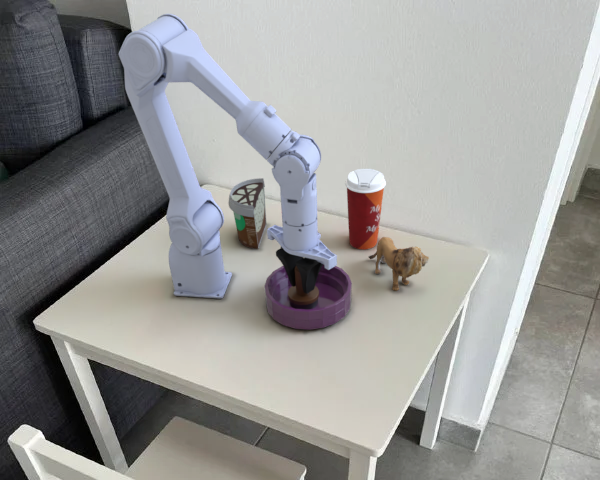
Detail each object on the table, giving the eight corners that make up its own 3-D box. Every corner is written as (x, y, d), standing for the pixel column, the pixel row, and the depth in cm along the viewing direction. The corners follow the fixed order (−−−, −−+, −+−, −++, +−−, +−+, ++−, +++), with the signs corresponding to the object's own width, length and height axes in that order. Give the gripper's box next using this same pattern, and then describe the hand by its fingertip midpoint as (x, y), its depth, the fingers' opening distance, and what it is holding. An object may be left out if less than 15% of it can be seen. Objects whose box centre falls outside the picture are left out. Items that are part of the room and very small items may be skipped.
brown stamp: (285, 310, 111) (283, 276, 106) (291, 291, 115) (288, 258, 110) (317, 312, 110) (315, 278, 105) (321, 293, 114) (320, 259, 109)
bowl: (259, 328, 109) (257, 308, 105) (275, 278, 119) (273, 258, 116) (346, 335, 106) (346, 314, 103) (354, 283, 117) (355, 262, 114)
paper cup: (380, 253, 123) (384, 187, 113) (342, 251, 125) (342, 185, 115) (383, 232, 129) (388, 167, 119) (346, 230, 130) (347, 165, 120)
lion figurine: (428, 291, 114) (434, 248, 108) (406, 301, 112) (410, 258, 106) (378, 255, 123) (381, 213, 117) (357, 264, 121) (358, 222, 115)
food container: (239, 220, 135) (234, 176, 127) (267, 221, 134) (264, 177, 127) (227, 251, 126) (220, 206, 119) (257, 253, 125) (252, 207, 118)
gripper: (349, 223, 99) (348, 293, 108) (286, 194, 106) (290, 262, 116) (319, 241, 95) (320, 312, 105) (255, 210, 103) (262, 278, 112)
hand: (302, 287), depth 110 cm, fingers closed on brown stamp, 2 cm apart
